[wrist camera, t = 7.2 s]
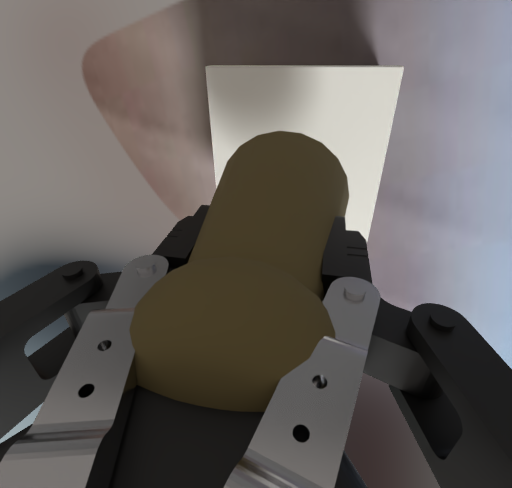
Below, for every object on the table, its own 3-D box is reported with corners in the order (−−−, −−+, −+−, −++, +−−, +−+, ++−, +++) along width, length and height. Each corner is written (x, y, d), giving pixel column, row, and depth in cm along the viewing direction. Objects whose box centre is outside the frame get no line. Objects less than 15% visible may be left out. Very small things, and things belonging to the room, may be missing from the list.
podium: (390, 59, 19) (404, 67, 15) (362, 207, 25) (367, 242, 21) (230, 59, 21) (205, 66, 17) (237, 197, 27) (219, 227, 23)
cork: (323, 263, 17) (310, 534, 8) (212, 230, 17) (78, 455, 8) (372, 152, 13) (450, 414, 4) (231, 113, 13) (29, 282, 5)
